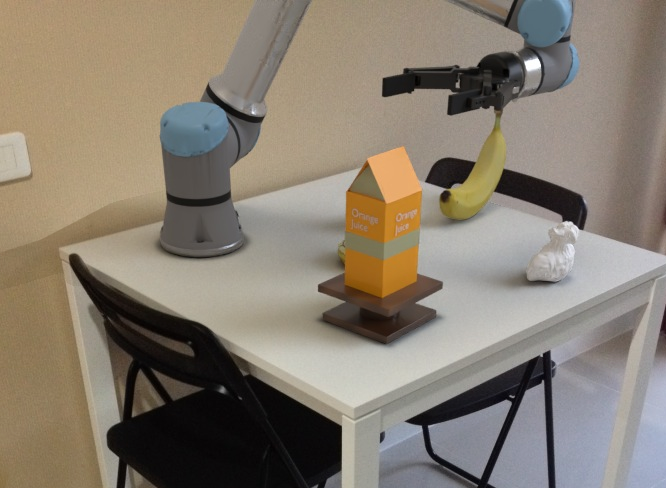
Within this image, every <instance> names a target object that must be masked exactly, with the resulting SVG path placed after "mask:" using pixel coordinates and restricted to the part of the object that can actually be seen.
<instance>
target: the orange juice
mask: <svg viewBox="0 0 666 488" xmlns="http://www.w3.org/2000/svg"><path fill="white" fill-rule="evenodd" d="M422 196H423V188H422V186H421V183H420V181H419V178H418V176H417V174H416V171H415V169H414V166H413V165H412V162H411V160H410V158H409V155H408V153H407V151H406V148H405V146H404V145H402V146H399V147H396V148H393V149H390V150H388V151H384V152H381V153H379V154H376V155H372V156H369V157H366V161H365V162H364V164H363V165H362V167H361V168H360V170H359V172H358V173H357V174H356V176H355V178H354V179H353V181H352V183H350V185H349V187H348V189H347V190H346V191H345V230H344V240H345V264H344V272H345V285H347V286H350V287H353V288H355V289H358V290H361V291H364V292H367V293H369V294H372V295H375V296H378V297H381V298H383V297H385V296H387V295H389V294H391V293H394V292H396V291H398V290H400V289H402V288H404V287H406V286H408V285H410V284H412V283H414V282H416V281H417V274H418V267H419V266H418V263H419V247H420V238H421V237H420V235H421V213H422Z"/></svg>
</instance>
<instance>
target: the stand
mask: <svg viewBox="0 0 666 488" xmlns="http://www.w3.org/2000/svg"><path fill="white" fill-rule="evenodd" d="M443 287H444V281H443V280H439V279H436V278H433V277H429V276H427V275H424V274H420V273H417V281H416V282H414V283H412V284H410V285H408V286H406V287H404V288H402V289H400V290H398V291H396V292H394V293H391V294H389V295H387V296H385V297H383V298H381V297H378V296H375V295H372V294H369V293H367V292H364V291H361V290H358V289H355V288H353V287H350V286H347V285H345V271H344V272H343V273H342V272H341V273H340V274H338V275H335V276H334V277H331V278H329V279H327V280H325V281H322V282H320V283H318V284H317V292H318V293H320V294H323V295H326V296H329V297H331V298H334V299H337V300H339V301H343V302H342V303H341V304H338V305H335V306H334V307H332V308H330V309H328V310H325V311H324V312H322V317H321V318H322V321H325V322H327V323H330V324H333V325H335V326H338V327H340V328H343V329H346V330H349V331H350V332H353V333H356V334H359V335H362V336H365V337H367V338H370V339H372V340H375V341H377V342H381V343H383V344H385V345H387V344H390V343H392V342H393V341H395V340H397V339H399V338H400V337H402V336H404V335H406V334H408V333H410V332H411V331H413V330H415V329H416V328H419V327H420V326H422V325H424V324H426V323H428V322H430V321H431V320H433V319H435V318H436V317H437V309H434V308H431V307H428V306H425V305H422V304H420V303H418V302H420V301H422V300H424V299H425V298H427V297H429V296H432V295H433V294H435V293H437V292H439V291H441V290H443Z"/></svg>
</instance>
